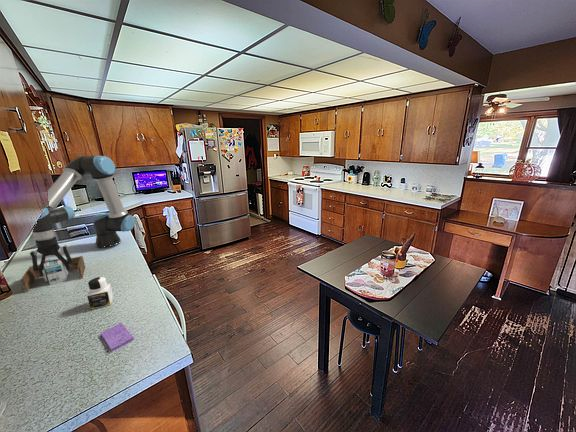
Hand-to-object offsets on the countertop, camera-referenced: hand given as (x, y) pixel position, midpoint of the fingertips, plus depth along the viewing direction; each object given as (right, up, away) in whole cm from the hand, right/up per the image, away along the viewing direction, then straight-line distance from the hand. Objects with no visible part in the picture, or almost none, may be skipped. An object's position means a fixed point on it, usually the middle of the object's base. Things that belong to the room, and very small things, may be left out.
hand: (57, 278), depth 126 cm
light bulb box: (0, -1, 0) cm, 1 cm away
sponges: (+62, -12, -40) cm, 74 cm away
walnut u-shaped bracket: (-1, 0, +1) cm, 1 cm away
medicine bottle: (+40, -6, -20) cm, 46 cm away
